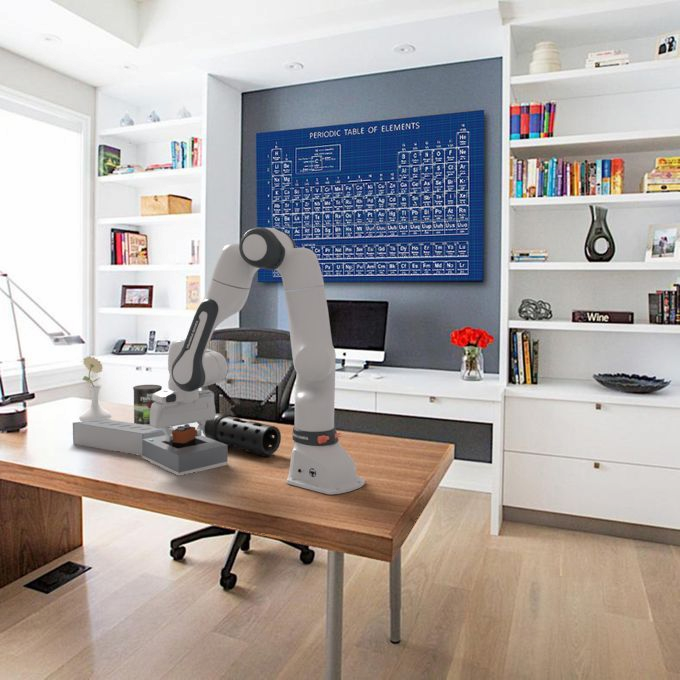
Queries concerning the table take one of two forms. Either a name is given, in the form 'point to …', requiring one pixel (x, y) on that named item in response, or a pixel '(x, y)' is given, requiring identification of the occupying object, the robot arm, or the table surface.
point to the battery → (184, 436)
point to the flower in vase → (94, 393)
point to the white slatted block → (114, 435)
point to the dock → (185, 454)
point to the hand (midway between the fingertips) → (184, 438)
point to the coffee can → (144, 402)
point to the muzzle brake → (243, 434)
